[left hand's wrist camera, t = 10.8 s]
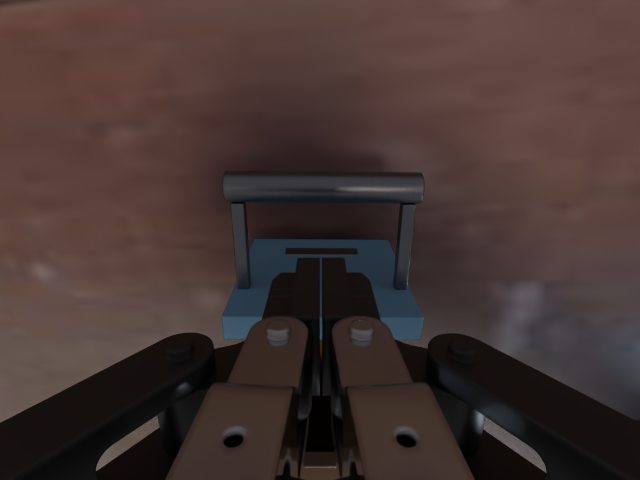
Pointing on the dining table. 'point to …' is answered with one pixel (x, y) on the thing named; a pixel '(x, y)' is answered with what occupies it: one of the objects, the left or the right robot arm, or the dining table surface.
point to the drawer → (323, 256)
